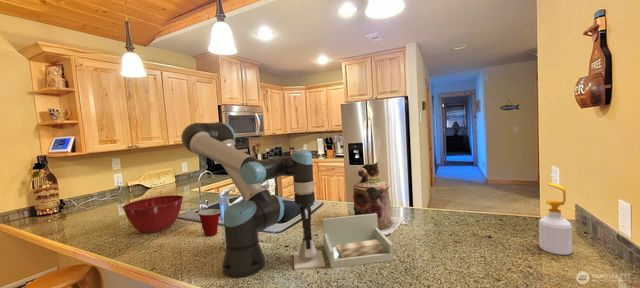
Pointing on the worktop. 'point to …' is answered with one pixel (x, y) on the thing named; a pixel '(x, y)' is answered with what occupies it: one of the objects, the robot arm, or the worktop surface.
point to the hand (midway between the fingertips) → (308, 252)
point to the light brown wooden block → (359, 249)
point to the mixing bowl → (153, 213)
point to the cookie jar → (374, 199)
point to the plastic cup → (209, 221)
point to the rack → (355, 238)
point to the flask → (302, 250)
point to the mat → (308, 261)
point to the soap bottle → (555, 228)
